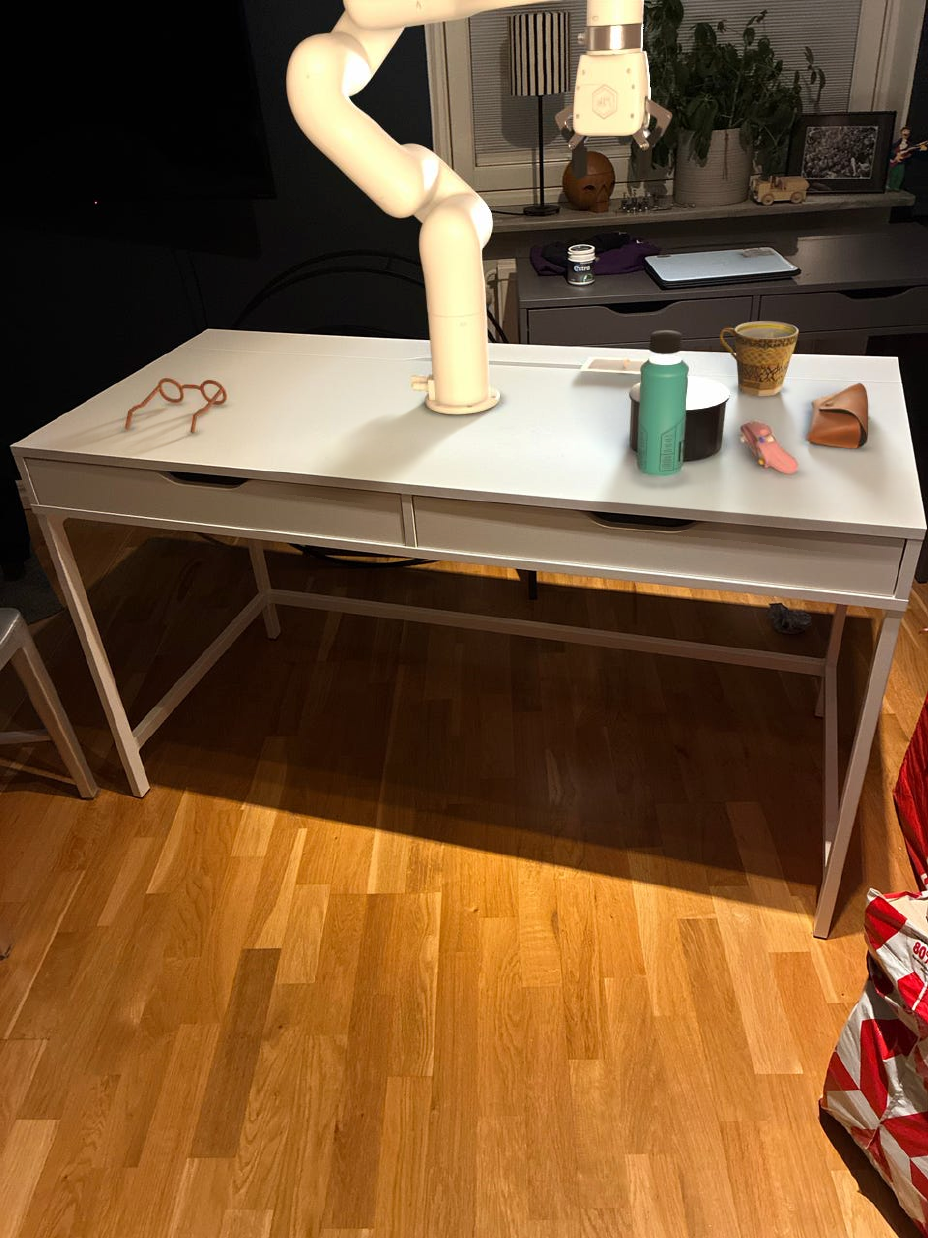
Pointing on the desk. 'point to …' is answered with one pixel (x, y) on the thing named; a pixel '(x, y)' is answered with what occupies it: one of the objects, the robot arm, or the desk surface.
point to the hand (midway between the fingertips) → (610, 178)
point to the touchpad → (613, 365)
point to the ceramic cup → (762, 355)
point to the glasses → (201, 388)
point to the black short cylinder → (692, 432)
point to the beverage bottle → (662, 407)
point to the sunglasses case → (841, 419)
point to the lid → (696, 394)
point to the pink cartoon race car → (767, 447)
